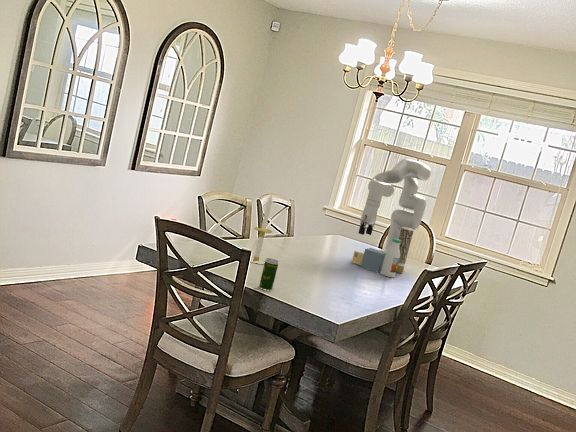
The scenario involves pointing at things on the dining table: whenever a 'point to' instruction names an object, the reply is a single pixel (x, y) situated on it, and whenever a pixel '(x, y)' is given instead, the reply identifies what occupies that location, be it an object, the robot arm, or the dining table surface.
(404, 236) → the paper tube
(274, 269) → the beer can
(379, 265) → the dispenser
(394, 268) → the milk bottle
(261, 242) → the toy sword
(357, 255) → the tall yellow upright plank
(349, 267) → the dining table surface
